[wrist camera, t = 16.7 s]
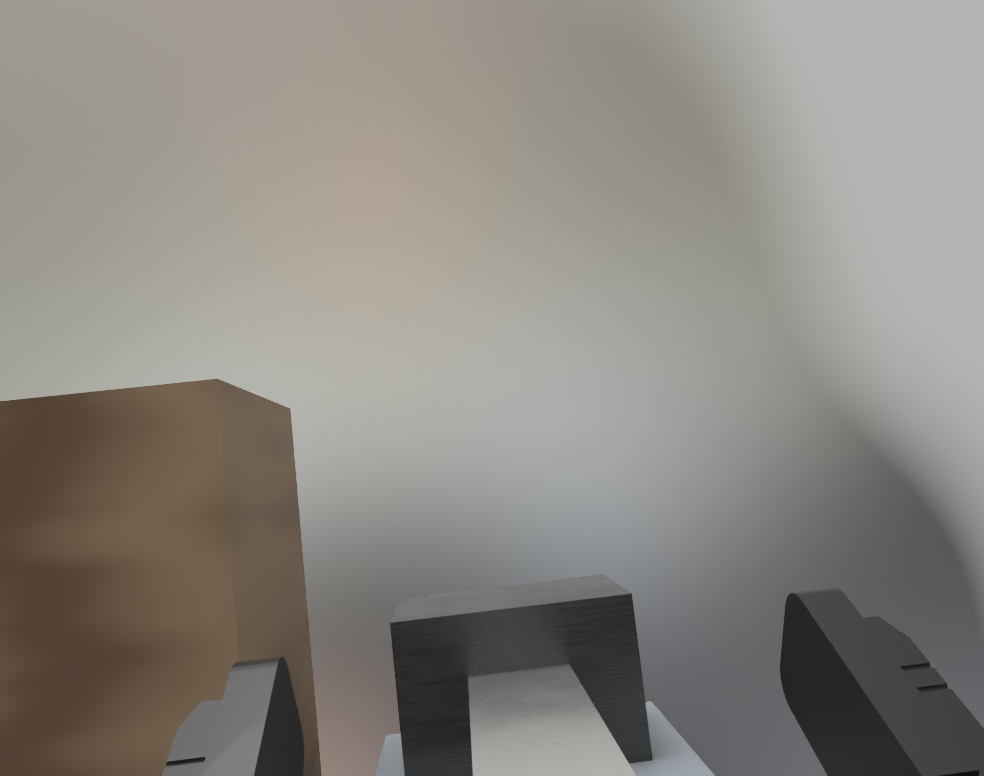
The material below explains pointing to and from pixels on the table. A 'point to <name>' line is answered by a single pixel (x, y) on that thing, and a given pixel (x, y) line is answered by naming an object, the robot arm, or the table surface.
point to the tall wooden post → (142, 570)
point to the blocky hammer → (521, 681)
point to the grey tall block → (670, 772)
